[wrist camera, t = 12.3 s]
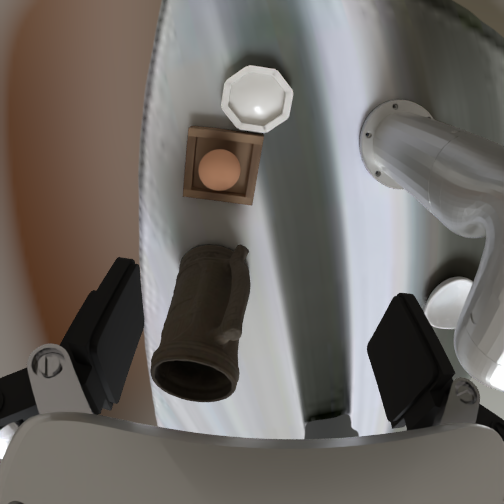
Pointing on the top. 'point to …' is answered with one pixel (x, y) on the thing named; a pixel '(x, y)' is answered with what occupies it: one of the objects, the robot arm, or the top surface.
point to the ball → (219, 169)
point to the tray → (234, 142)
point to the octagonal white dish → (257, 99)
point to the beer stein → (204, 325)
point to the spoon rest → (447, 302)
